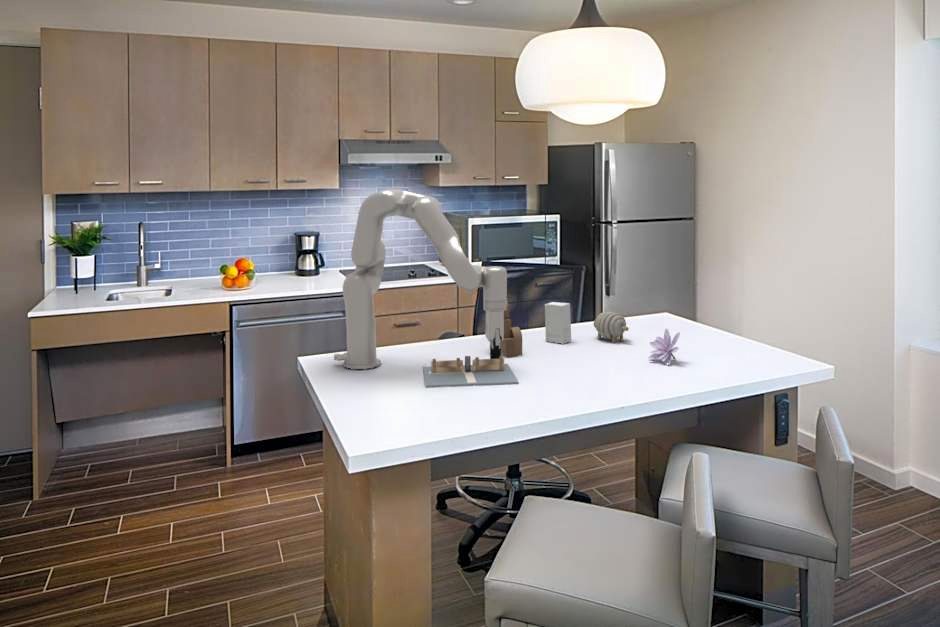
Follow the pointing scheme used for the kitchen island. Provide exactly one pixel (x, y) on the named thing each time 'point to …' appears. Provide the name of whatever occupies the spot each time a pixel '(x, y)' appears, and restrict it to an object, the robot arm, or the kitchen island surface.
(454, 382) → the board
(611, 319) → the toy sheep
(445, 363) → the fixed fence rail
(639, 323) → the kitchen island surface
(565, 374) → the kitchen island surface
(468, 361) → the fence post
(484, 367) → the tan wooden bar
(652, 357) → the water lily
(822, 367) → the kitchen island surface
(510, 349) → the wooden toy
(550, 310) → the skincare box
